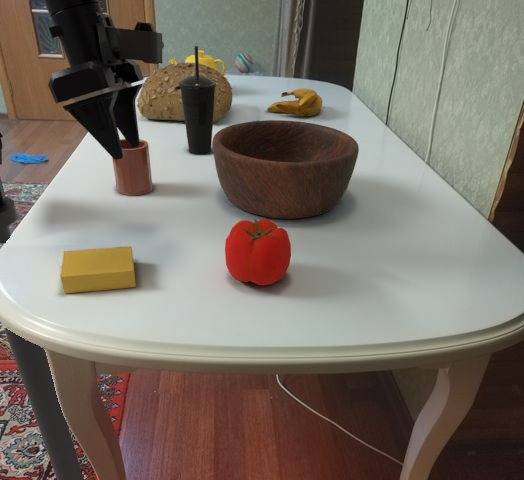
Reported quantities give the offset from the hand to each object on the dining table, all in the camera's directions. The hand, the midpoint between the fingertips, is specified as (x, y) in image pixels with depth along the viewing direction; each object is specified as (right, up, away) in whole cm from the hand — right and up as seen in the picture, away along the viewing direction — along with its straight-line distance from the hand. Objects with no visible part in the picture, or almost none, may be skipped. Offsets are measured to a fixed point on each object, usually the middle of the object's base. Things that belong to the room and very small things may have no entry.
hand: (128, 152), depth 65 cm
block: (-5, -15, +4) cm, 17 cm away
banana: (+26, +41, +76) cm, 91 cm away
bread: (-3, +38, +70) cm, 80 cm away
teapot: (-2, +54, +90) cm, 105 cm away
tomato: (+17, -16, +5) cm, 23 cm away
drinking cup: (+3, +18, +47) cm, 50 cm away
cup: (-6, +4, +28) cm, 29 cm away
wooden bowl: (+21, +2, +28) cm, 35 cm away
